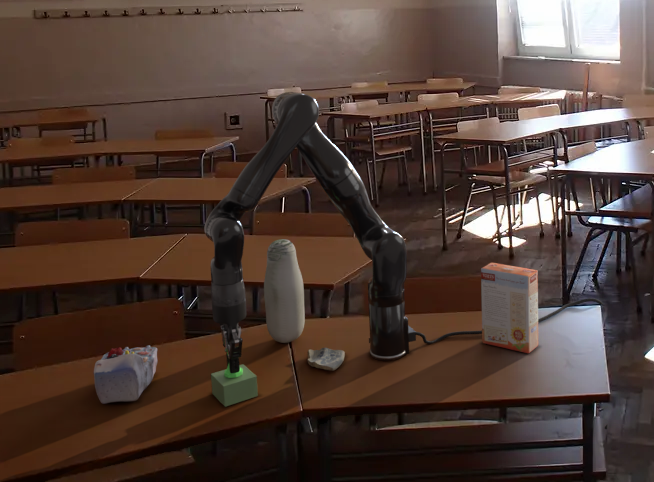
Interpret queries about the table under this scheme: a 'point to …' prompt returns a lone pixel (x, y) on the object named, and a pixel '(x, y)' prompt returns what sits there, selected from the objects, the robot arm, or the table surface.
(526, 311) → the cracker box
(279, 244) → the white bottle
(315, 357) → the ceramic fragment
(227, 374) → the game piece
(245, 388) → the green block
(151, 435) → the table surface
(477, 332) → the robot arm
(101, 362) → the cell model
